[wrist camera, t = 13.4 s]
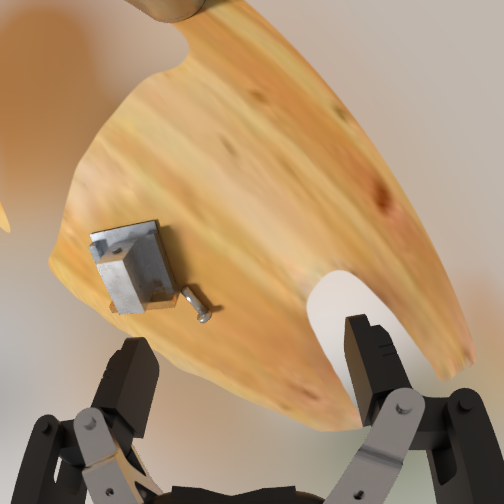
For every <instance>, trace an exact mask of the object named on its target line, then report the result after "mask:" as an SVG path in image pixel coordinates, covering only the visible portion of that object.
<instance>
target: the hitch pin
mask: <svg viewBox="0 0 504 504" xmlns="http://www.w3.org/2000/svg"><path fill="white" fill-rule="evenodd" d="M181 293H182V294H183V295H184V297H185V298H186V299H187V300H188V301H189V303H190V304H191V305H192V306H193V307H194V308H195V310H196V311H197V312H198V313H199V314H198V316H197V320H198V321H199V322H200V323H205V322H207V321H208V320H209V319H210V318H211V316H212V313H211V312H210V310H209V309H206V308H205V307H204V306H203V304H202V303H201V302H200V301H199V300H198V298H197V297H196V296H195V295H194V294H193V292H192V291H191V290H190V289H189V287H188V286H185V287H184V288H182V290H181Z"/></svg>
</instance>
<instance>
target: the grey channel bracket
mask: <svg viewBox="0 0 504 504" xmlns="http://www.w3.org/2000/svg"><path fill="white" fill-rule="evenodd" d="M90 237H91V239H92V244H91V245H90V246H89V249H90V251H91V254H92V256H93V259H94V261H95V263H96V264H97V262H98V261H99V260H100V259H101V257H102V256H103V255H104V253H105V252H106V251H107V250H108V248H109V247H110V246H111V245H112V243H117V242H122V241H128V240H133V239H138V242H139V245H140V248H141V251H142V253H143V256H144V259H145V262H146V264H147V267H148V270H149V272H150V275H151V277H152V280H153V282H154V285H155V290H154V292H153V295H152V297H151V299H150V302H149V304H148V306H147V309H146V310H153V309H164V308H174V307H175V306H176V303H177V300H178V297H179V294H180V293H179V291H178V288H177V285H176V282H175V280H174V277H173V274H172V271H171V268H170V265H169V262H168V259H167V257H166V254H165V251H164V248H163V245H162V242H161V238H160V235H159V232H158V229H157V226H156V223H155V220H154V221H149V222H144V223H139V224H135V225H130V226H125V227H120V228H115V229H111V230H106V231H102V232H97V233H93V234H90ZM109 308H110V310H111V312H112V313H118V311H117V309H116V307H115V305H114V303H113V301H112V302H111V304H110V306H109Z"/></svg>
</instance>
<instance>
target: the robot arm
mask: <svg viewBox="0 0 504 504" xmlns="http://www.w3.org/2000/svg"><path fill="white" fill-rule="evenodd" d="M125 1H127V2H128V3H130V4H131V5H133V6H134V7H136V8H138V9H139V10H141V11H142V12H144V13H145V14H147V15H148V16H150V17H152V18H153V19H154V20H157V21H159V22H164V23H174V22H179V21H182V20H185V19H187V18H189V17H190V16H192V15H193V14H195V13H196V12H197V11H198V10H199V9H200V8H201V7H202V5H203V3H204V2H205V0H125ZM344 352H345V358H346V362H347V365H348V369H349V373H350V377H351V380H352V384H353V388H354V392H355V396H356V400H357V404H358V408H359V412H360V416H361V420H362V424H363V427H365V426H369V425H371V427H372V428H371V430H370V432H369V434H368V435H367V437H366V439H365V441H364V443H363V444H362V446H361V448H360V449H359V450H358V451H357V453H356V454H355V456H354V457H353V459H352V461H351V462H350V464H349V465H348V467H347V469H346V470H345V472H344V473H343V475H342V477H341V478H340V480H339V481H338V483H337V484H336V486H335V487H334V489H333V490H332V491H331V493H330V495H329V496H328V497H327V499H326V500H325V499H323V498H321V497H319V496H316V495H313V494H310V493H306V492H299V491H296V488H295V486H288V487H276V488H262V489H259V490H256V491H251V492H247V493H243V494H238V495H234V496H229V495H224V494H220V493H216V492H213V491H209V490H205V489H202V488H192V487H180V486H172V492H168V493H163V491H162V490H161V489H160V488H159V486H158V485H157V484H156V483H155V482H154V481H153V480H152V478H151V477H150V475H149V473H148V471H147V470H146V468H145V466H144V465H143V462H142V461H141V459H140V457H139V455H138V453H137V451H136V449H135V447H134V446H133V444H132V441H133V437H134V438H143V437H144V433H145V428H146V424H147V420H148V416H149V412H150V408H151V403H152V400H153V396H154V392H155V388H156V384H157V380H158V377H159V364H158V361H157V359H156V357H155V355H154V353H153V351H152V349H151V348H150V346H149V344H148V342H147V340H146V339H145V338H144V337H134V338H127V339H126V340H125V341H124V344H123V346H122V348H121V350H117V351H116V352H115V353H114V355H113V356H112V357H111V358H110V360H109V362H108V364H107V367H106V370H105V372H104V374H103V378H102V379H101V382H100V384H99V387H98V389H97V392H96V394H95V397H94V400H93V402H92V405H91V407H90V408H86V409H84V410H82V411H81V412H80V413H78V414H77V416H76V418H75V419H73V420H67V421H61V422H59V421H58V420H57V419H56V418H55V417H54V416H53V415H44V416H42V417H40V418H39V419H38V420H37V422H36V423H35V425H34V428H33V430H32V433H31V436H30V439H29V442H28V445H27V448H26V451H25V454H24V457H23V460H22V464H21V467H20V470H19V474H18V477H17V481H16V484H15V488H14V492H13V496H12V500H11V504H85V499H86V494H87V489H88V491H89V493H90V496H91V498H92V501H93V503H94V504H383V502H384V501H385V498H386V497H387V495H388V494H389V492H390V490H391V488H392V486H393V484H394V482H395V480H396V478H397V477H398V475H399V472H400V470H401V468H402V465H403V460H404V458H405V456H406V454H407V451H408V450H426V453H427V457H428V461H429V466H430V470H431V475H432V480H433V485H434V491H435V496H436V502H437V504H504V460H503V457H502V454H501V450H500V448H499V444H498V441H497V438H496V436H495V433H494V430H493V427H492V424H491V422H490V419H489V416H488V414H487V412H486V409H485V406H484V404H483V401H482V399H481V397H480V395H479V394H478V393H477V392H475V391H474V390H472V389H469V388H461V389H458V390H456V391H454V392H453V393H452V394H451V396H450V397H446V398H432V397H425V396H422V395H421V394H420V393H419V392H417V391H416V390H414V389H413V388H412V386H411V384H410V382H409V380H408V377H407V375H406V373H405V370H404V368H403V365H402V363H401V360H400V358H399V356H398V354H397V351H396V349H395V346H394V345H393V342H392V339H391V337H390V335H389V333H388V332H387V331H386V330H385V329H384V328H383V327H382V326H380V325H375V326H370V323H369V321H368V318H367V316H366V315H365V314H361V315H355V316H349V317H346V319H345V335H344ZM58 457H60V458H61V459H62V461H61V465H60V469H59V473H58V477H57V481H56V483H55V481H54V472H55V469H56V465H57V460H58Z"/></svg>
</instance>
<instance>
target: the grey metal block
mask: <svg viewBox="0 0 504 504" xmlns="http://www.w3.org/2000/svg"><path fill="white" fill-rule="evenodd" d="M96 266H97V268H98V270H99V273H100V275H101V277H102V279H103V282H104V284H105V286H106V288H107V290H108V292H109V294H110V296H111V298H112V301H113V303H114V305H115V307H116V309H117V311H118V313H119V315H120V314H133V313H145V311H146V309H147V306H148V304H149V302H150V299H151V297H152V295H153V292H154V290H155V285H154V282H153V280H152V277H151V275H150V272H149V270H148V267H147V264H146V262H145V259H144V256H143V253H142V251H141V248H140V245H139V242H138V239H133V240H128V241H122V242H117V243H112V245H111V246H110V247H109V248H108V250H107V251H106V252H105V253H104V255H103V256H102V257H101V259H100V260H99V261H98V262H97V264H96Z"/></svg>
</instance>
